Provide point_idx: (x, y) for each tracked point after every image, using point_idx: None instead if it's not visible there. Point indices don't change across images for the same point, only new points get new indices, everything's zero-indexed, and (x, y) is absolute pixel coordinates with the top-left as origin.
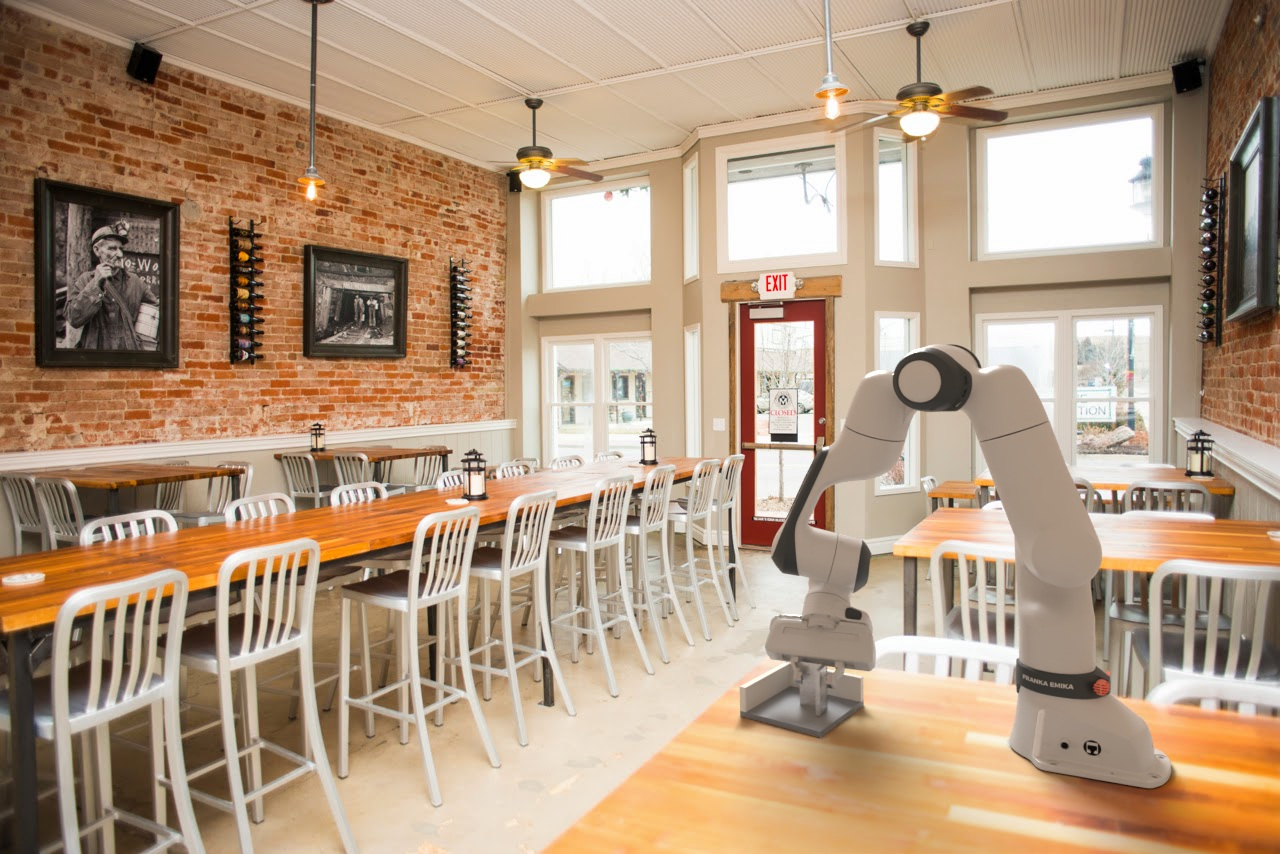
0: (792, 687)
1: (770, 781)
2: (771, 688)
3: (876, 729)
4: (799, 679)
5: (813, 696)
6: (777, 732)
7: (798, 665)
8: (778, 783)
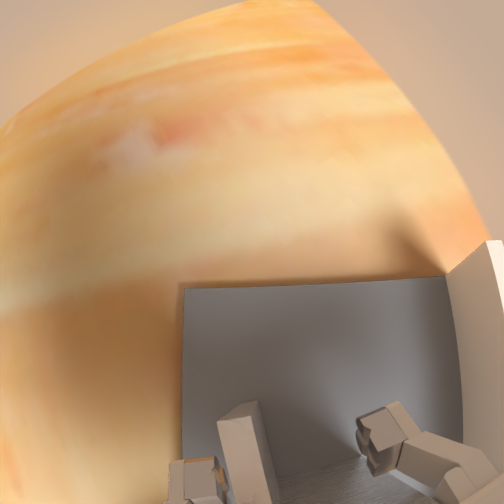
0: None
1: (197, 88)
2: (479, 436)
3: (84, 437)
4: (366, 416)
5: (314, 480)
6: (311, 252)
7: (433, 495)
8: (183, 91)
